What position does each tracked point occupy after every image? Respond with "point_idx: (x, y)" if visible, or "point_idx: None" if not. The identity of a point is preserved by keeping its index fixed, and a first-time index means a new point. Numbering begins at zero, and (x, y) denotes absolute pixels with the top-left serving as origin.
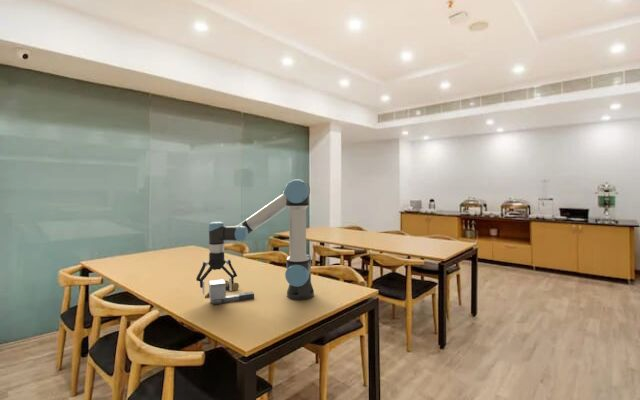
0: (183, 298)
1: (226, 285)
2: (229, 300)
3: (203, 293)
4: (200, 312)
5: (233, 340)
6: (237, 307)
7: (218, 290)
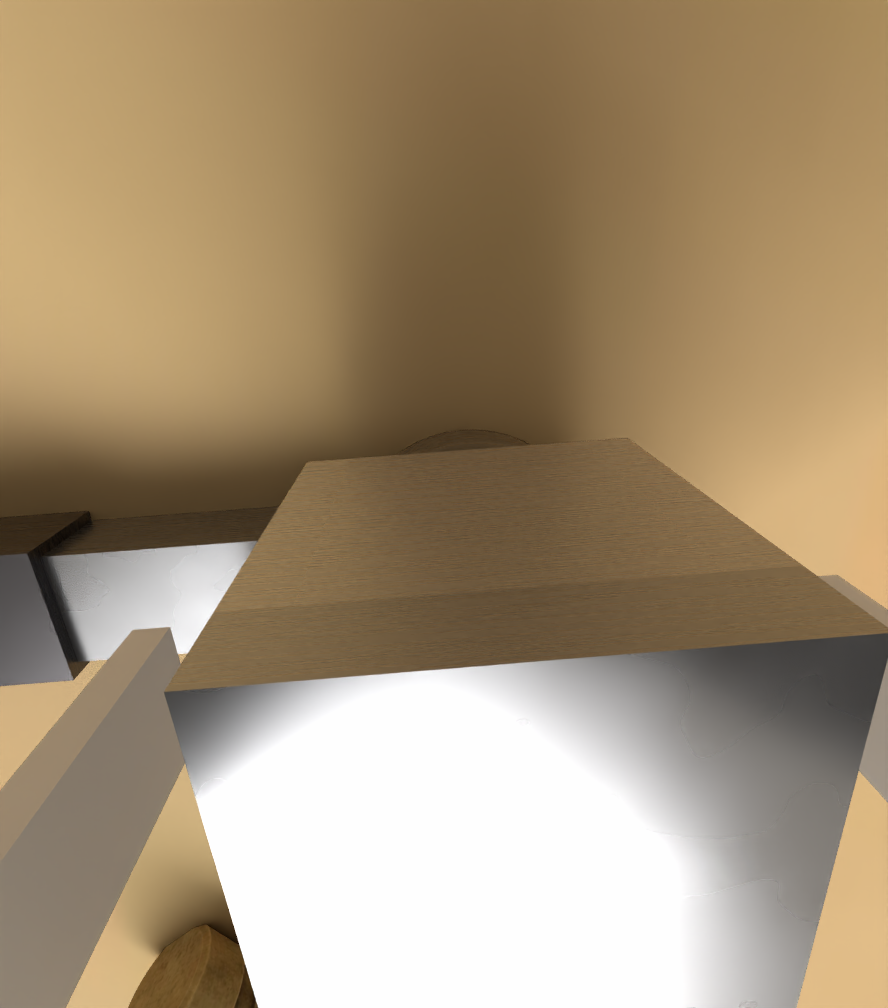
0: (884, 824)
1: None
2: (255, 519)
3: (837, 588)
4: (816, 131)
5: None
6: (83, 143)
7: (483, 529)
